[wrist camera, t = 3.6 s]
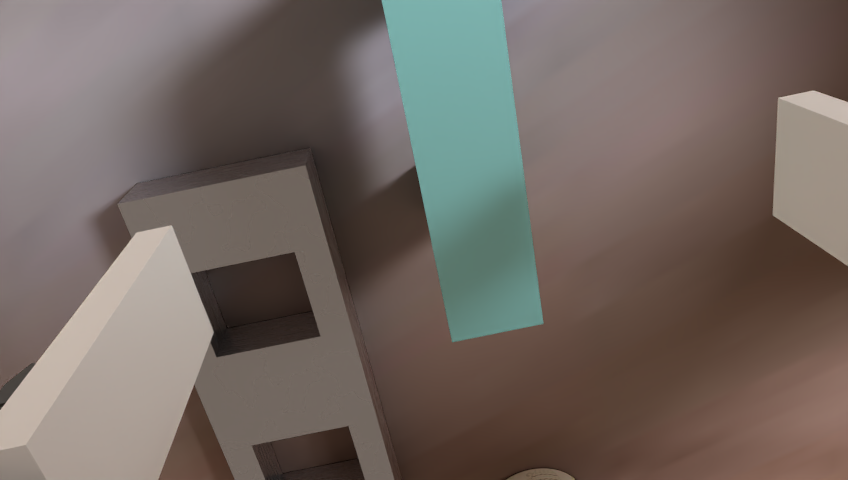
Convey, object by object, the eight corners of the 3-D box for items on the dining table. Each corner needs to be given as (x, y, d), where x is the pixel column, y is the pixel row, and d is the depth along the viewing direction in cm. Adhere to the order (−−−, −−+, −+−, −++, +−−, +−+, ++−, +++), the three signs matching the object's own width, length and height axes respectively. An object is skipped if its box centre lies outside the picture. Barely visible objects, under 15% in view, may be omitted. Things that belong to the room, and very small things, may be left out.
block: (136, 183, 29) (116, 204, 27) (310, 147, 29) (305, 165, 27) (275, 524, 39) (269, 561, 36) (407, 498, 39) (409, 533, 36)
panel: (367, -73, 26) (365, -78, 16) (442, -89, 26) (487, -104, 16) (426, 211, 31) (452, 342, 21) (488, 199, 31) (543, 323, 21)
